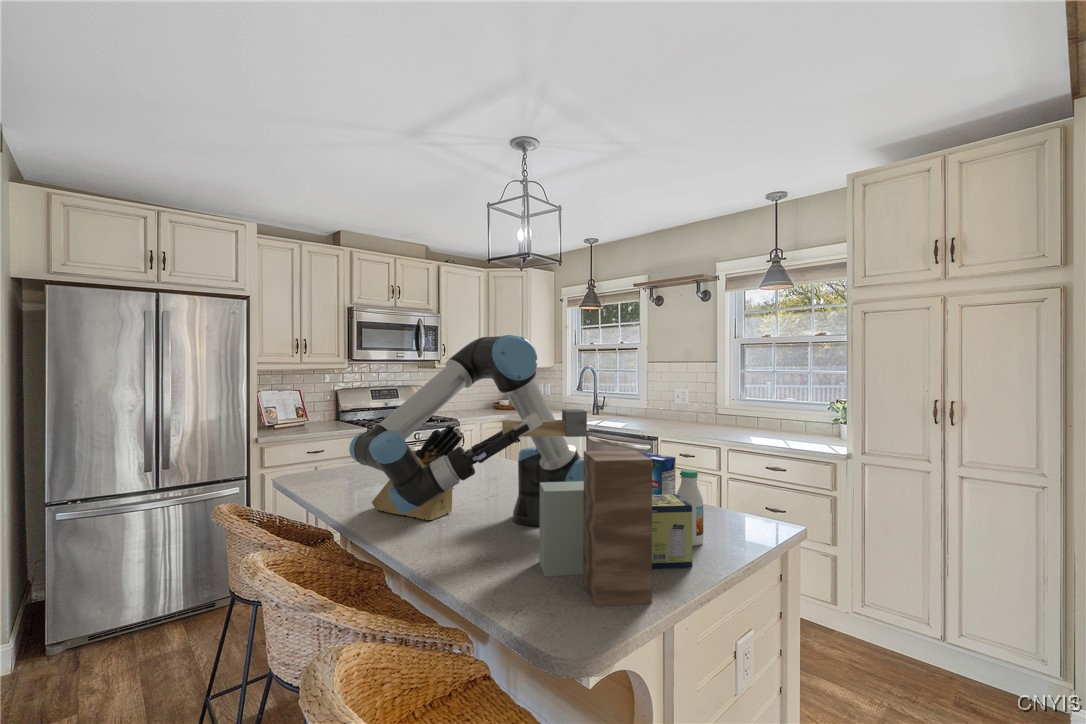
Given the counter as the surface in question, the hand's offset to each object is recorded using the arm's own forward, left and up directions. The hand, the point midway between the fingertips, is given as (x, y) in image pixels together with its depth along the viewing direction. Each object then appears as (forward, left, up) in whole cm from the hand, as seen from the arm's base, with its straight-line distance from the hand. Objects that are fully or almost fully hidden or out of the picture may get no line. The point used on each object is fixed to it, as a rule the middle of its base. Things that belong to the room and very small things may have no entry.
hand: (538, 418), depth 124 cm
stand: (+14, +15, -37) cm, 42 cm away
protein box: (-2, +30, -37) cm, 48 cm away
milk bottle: (-14, +44, -37) cm, 59 cm away
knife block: (-50, -33, -37) cm, 70 cm away
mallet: (0, +1, -4) cm, 4 cm away
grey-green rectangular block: (0, +7, -37) cm, 38 cm away
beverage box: (-26, +38, -37) cm, 59 cm away
